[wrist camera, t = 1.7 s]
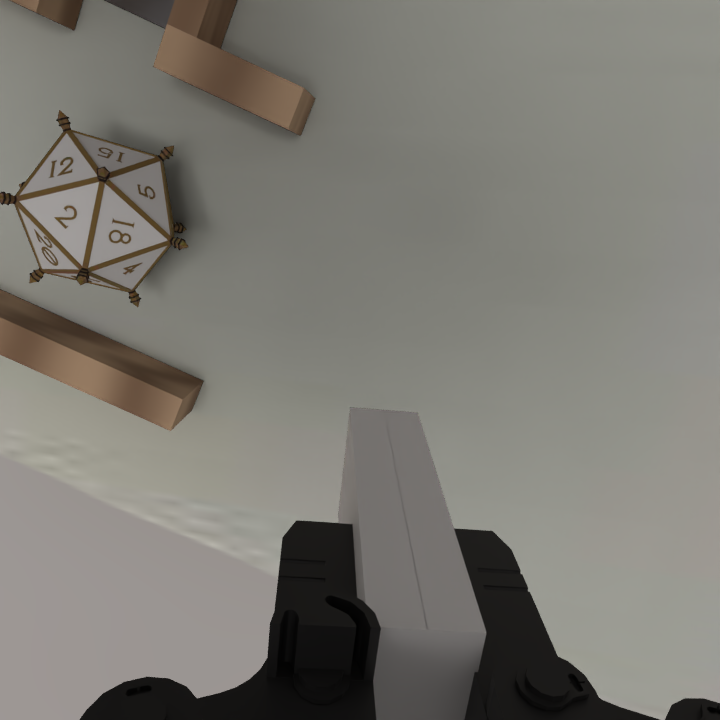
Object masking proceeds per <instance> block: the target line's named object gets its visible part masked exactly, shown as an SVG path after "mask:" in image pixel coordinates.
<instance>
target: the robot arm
mask: <svg viewBox="0 0 720 720" xmlns="http://www.w3.org/2000/svg"><path fill="white" fill-rule="evenodd" d="M338 520H339V523H328V522H312V521H296V522H295V523H294V524H293V525H292V527H291V528H290V529H289V530H288V532H287V533H286V534H285V535H284V537H283V540H282V549H281V558H280V567H279V576H278V586H277V595H276V603H275V612H274V614H273V617H272V620H271V622H270V633H269V646H268V658H267V660H266V661H265V663H264V664H263V666H262V668H261V669H260V670H259V671H258V672H257V673H256V674H255V675H254V676H253V677H252V678H251V679H249V680H248V681H246V682H244V683H243V684H241V685H239V686H238V687H236V688H233V689H230V690H227V691H225V692H221V693H218V694H214V695H210V696H206V697H202V698H198V699H197V698H196V697H195V696H194V695H193V694H192V692H191V691H190V690H189V689H188V688H187V687H186V686H184V685H182V684H179V683H177V682H175V681H173V680H171V679H168V678H155V677H145V678H140V679H135V680H131V681H127V682H123V683H122V684H120V685H118V686H116V687H114V688H113V689H111V690H109V691H107V692H105V693H103V694H102V695H101V696H100V697H99V698H98V699H97V700H96V701H95V702H94V703H93V704H92V705H91V706H90V707H89V708H88V709H87V710H86V712H85V713H84V714H83V716H82V717H81V718H80V720H659V719H656V718H653V717H649V716H646V715H643V714H640V713H637V712H634V711H630V710H627V709H624V708H621V707H618V706H616V705H613V704H611V703H608V702H606V701H603V700H602V699H600V698H599V697H598V695H597V693H596V691H595V689H594V688H593V687H592V685H591V684H590V682H589V681H588V679H587V678H586V676H585V675H584V674H583V673H582V672H580V671H579V670H578V669H577V668H575V667H574V666H573V665H572V664H571V663H569V662H568V661H566V660H564V659H562V658H560V657H558V656H557V654H556V651H555V649H554V647H553V645H552V642H551V640H550V638H549V635H548V633H547V631H546V628H545V626H544V624H543V621H542V619H541V617H540V614H539V612H538V610H537V608H536V605H535V603H534V601H533V598H532V596H531V594H530V592H528V587H527V584H526V582H525V580H524V578H523V575H522V574H520V568H519V566H518V564H517V561H516V559H515V557H514V554H513V552H512V550H511V549H510V548H509V547H508V546H507V545H506V544H505V543H504V542H503V541H502V540H501V539H500V538H499V537H498V536H497V535H496V534H495V533H494V532H493V531H483V530H468V529H454V527H453V524H452V521H451V518H450V514H449V511H448V508H447V505H446V502H445V498H444V495H443V492H442V489H441V486H440V482H439V479H438V476H437V473H436V470H435V466H434V463H433V460H432V457H431V454H430V450H429V447H428V444H427V441H426V438H425V434H424V431H423V428H422V425H421V422H420V418H419V415H418V413H417V412H404V411H391V410H379V409H366V408H353V407H350V413H349V422H348V431H347V440H346V449H345V458H344V467H343V476H342V485H341V494H340V503H339V512H338ZM665 720H720V703H717V702H713V701H710V700H707V699H689V698H685V699H683V700H681V701H679V702H677V703H675V704H673V705H672V706H671V708H670V710H669V712H668V714H667V716H666V719H665Z"/></svg>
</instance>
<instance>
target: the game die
mask: <svg viewBox="0 0 720 720" xmlns="http://www.w3.org/2000/svg"><path fill="white" fill-rule="evenodd" d="M68 118H69V117H67V116H66V115H64V114H63V113H62V112H61V111H60V110H59V114H58V119H57V121H58V122H59V124H60V125H59V126H61V127H62V129H63V133H62V134H61V136H60V137H59V138H58V140H57V141H56V142H55V143H54V145H53V146H52V147H51V149H50V150H49V151H48V153H47V154H46V155H45V157H44V158H43V159H42V161H41V162H40V163H39V165H38V166H37V167H36V169H35V170H34V171H33V173H32V174H31V175H30V176H29V178H28V179H27V180H26V182H23V183H22V184H19V186H20V190H19V191H18V192H17V194H16V195H15V196H13V195H11V193H7V194H6V193H5V192H0V202H1V204H2V205H3V204H7V205H9V204H14V205H15V207H16V210H17V212H18V215H19V217H20V220H21V222H22V225H23V227H24V230H25V232H26V235H27V237H28V240H29V242H30V245H31V247H32V250H33V252H34V255H35V257H36V260H37V262H38V265H39V267H40V268H39V269H38V270H34V272H33V273H30V282H29V283H32V282H39V281H40V278H41V279H42V278H43V274H44V273H47V274H51V275H56V276H60V277H64V278H69V279H73V280H77V281H78V282H79V284H80V285H82V284H84V283H91V284H95V285H99V286H104V287H108V288H112V289H117V290H121V291H125V292H129V295H130V296H129V299H131V301H130V302H131V303H133V304H134V305H136V306H137V307H138V306H139V302H140V299H141V298H139V296H138V295H139V294H137V293H136V291H135V289H136V288H137V287H138V286H139V284H140V283H141V282H142V281H143V280H144V278H145V277H146V276H147V275H148V273H149V272H150V271H151V270H152V268H153V267H154V266H155V265H156V263H157V262H158V261H159V260H160V259H161V257H162V256H163V255H164V254H165V252H166V251H167V250H168V249H169V247H170V246H171V245H173V246H174V248H178V249H179V250H181V249H183V248H187V247H188V245H187V244H186V243H185V240H183V239H182V238H181V239H180V238H178V237H177V238H174V232H178V233H183V231H185V230H187V229H186V228H185V227H184V226H183V225H182V224H181V223H180V224H178V223H177V222H176V224H174V222H173V216H172V210H171V204H170V198H169V192H168V186H167V181H166V175H165V169H164V163H163V161H164V160H166V159H169V157H170V156H173V155H172V154H173V149H174V146H170V147H164V148H165V149H164V150H163V151H162V150H161V153H160V155H158V156H157V155H154V154H150V153H147V152H144V151H140V150H137V149H134V148H130V147H127V146H124V145H120V144H117V143H114V142H110V141H107V140H104V139H100V138H97V137H94V136H90V135H87V134H84V133H80V132H77V131H74V130H71V128H70V124H71V123H70V122H69V120H68Z"/></svg>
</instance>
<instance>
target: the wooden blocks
mask: <svg viewBox="0 0 720 720" xmlns="http://www.w3.org/2000/svg"><path fill="white" fill-rule="evenodd" d="M10 1H12V2H14V3H16V4H18V5H21V6H23V7H25V8H27V9H29V10H31V11H33V12H36V13H38V14H40V15H42V16H44V17H46V18H49V19H51V20H53V21H55V22H57V23H59V24H61V25H64V26H66V27H68V28H70V29H72V30H74V29H75V26H76V22H77V19H78V16H79V12H80V9H81V5H82V2H83V0H10ZM105 1H107V2H109V3H112V4H114V5H116V6H118V7H120V8H122V9H124V10H127V11H129V12H131V13H133V14H135V15H137V16H139V17H142V18H144V19H146V20H148V21H150V22H152V23H154V24H157V25H159V26H161V27H163V28H165V32H164V35H163V38H162V41H161V44H160V47H159V50H158V53H157V56H156V59H155V62H154V66H153V67H155V68H157V69H159V70H161V71H163V72H165V73H167V74H169V75H171V76H174V77H176V78H178V79H180V80H182V81H184V82H186V83H188V84H190V85H193V86H195V87H197V88H199V89H201V90H203V91H206V92H208V93H210V94H212V95H214V96H216V97H218V98H221V99H223V100H225V101H227V102H229V103H231V104H234V105H236V106H238V107H240V108H242V109H244V110H246V111H249V112H251V113H253V114H255V115H257V116H259V117H261V118H264V119H266V120H268V121H270V122H272V123H274V124H277V125H279V126H281V127H283V128H285V129H287V130H289V131H292V132H294V133H296V134H298V135H300V136H301V133H302V131H303V128H304V126H305V123H306V121H307V118H308V116H309V113H310V111H311V108H312V106H313V103H314V101H315V98H314V97H313V96H312V95H311V94H310V93H309V92H308V91H307V90H306V89H305V88H303V87H301V86H299V85H297V84H294V83H292V82H290V81H288V80H286V79H284V78H282V77H279V76H277V75H275V74H273V73H271V72H269V71H267V70H264V69H262V68H260V67H258V66H256V65H254V64H252V63H250V62H247V61H245V60H243V59H241V58H239V57H237V56H235V55H232V54H230V53H228V52H226V51H224V50H222V49H220V48H221V45H222V43H223V40H224V37H225V34H226V31H227V28H228V25H229V22H230V20H231V17H232V14H233V11H234V8H235V5H236V2H237V0H105ZM0 355H2V356H4V357H7V358H9V359H11V360H13V361H16V362H18V363H20V364H22V365H25V366H27V367H29V368H31V369H34V370H36V371H38V372H40V373H42V374H45V375H47V376H49V377H51V378H54V379H56V380H58V381H60V382H63V383H65V384H67V385H69V386H72V387H74V388H76V389H78V390H80V391H83V392H85V393H87V394H89V395H92V396H94V397H96V398H98V399H101V400H103V401H105V402H107V403H109V404H112V405H114V406H116V407H118V408H121V409H123V410H125V411H127V412H130V413H132V414H134V415H136V416H139V417H141V418H143V419H145V420H147V421H150V422H152V423H154V424H156V425H159V426H161V427H163V428H165V429H168V430H170V431H171V430H172V429H173V428H174V427H175V426H176V425H177V424H178V423H179V422H180V421H181V420H182V419H183V418H184V417H185V416H186V415H187V414H188V413H189V412H191V411H192V409H193V406H194V404H195V401H196V399H197V396H198V394H199V391H200V389H201V386H202V384H203V381H202V380H200V379H198V378H196V377H193V376H191V375H189V374H187V373H184V372H182V371H180V370H178V369H176V368H173V367H171V366H169V365H167V364H164V363H162V362H160V361H158V360H156V359H153V358H151V357H149V356H147V355H145V354H142V353H140V352H138V351H136V350H133V349H131V348H129V347H127V346H125V345H122V344H120V343H118V342H116V341H113V340H111V339H109V338H107V337H105V336H102V335H100V334H98V333H96V332H93V331H91V330H89V329H87V328H85V327H82V326H80V325H78V324H76V323H74V322H71V321H69V320H67V319H65V318H62V317H60V316H58V315H56V314H54V313H51V312H49V311H47V310H45V309H42V308H40V307H38V306H36V305H34V304H31V303H29V302H27V301H25V300H23V299H20V298H18V297H16V296H14V295H11V294H9V293H7V292H5V291H3V290H0Z"/></svg>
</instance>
